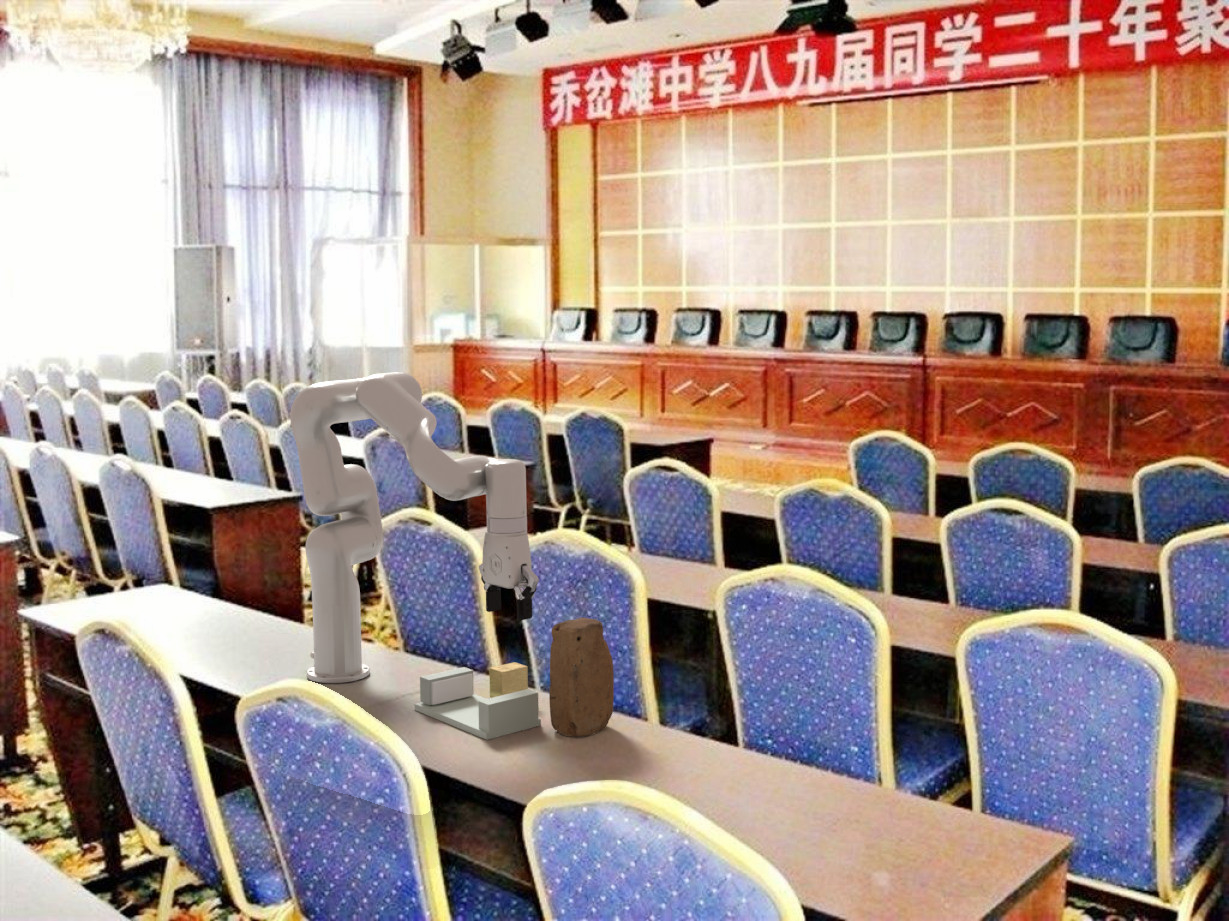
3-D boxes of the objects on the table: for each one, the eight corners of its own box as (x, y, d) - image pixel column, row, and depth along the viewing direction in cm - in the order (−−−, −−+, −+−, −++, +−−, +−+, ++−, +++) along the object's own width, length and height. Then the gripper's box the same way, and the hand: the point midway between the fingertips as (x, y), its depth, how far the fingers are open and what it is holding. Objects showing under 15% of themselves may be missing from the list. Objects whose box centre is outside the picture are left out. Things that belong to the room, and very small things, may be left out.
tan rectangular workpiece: (489, 703, 264) (489, 667, 263) (515, 697, 267) (514, 662, 267) (502, 708, 261) (502, 672, 260) (527, 702, 264) (527, 666, 264)
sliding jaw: (420, 701, 260) (419, 676, 259) (464, 691, 266) (464, 667, 266) (431, 706, 257) (430, 680, 256) (475, 695, 263) (475, 670, 263)
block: (570, 741, 241) (569, 629, 239) (545, 731, 247) (544, 621, 244) (619, 729, 248) (619, 619, 245) (593, 719, 254) (593, 612, 251)
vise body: (414, 709, 260) (413, 677, 259) (467, 697, 267) (466, 666, 267) (486, 739, 242) (486, 705, 242) (540, 725, 250) (540, 692, 249)
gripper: (463, 522, 264) (466, 610, 266) (518, 533, 251) (520, 626, 253) (495, 517, 269) (498, 604, 271) (551, 528, 256) (553, 619, 258)
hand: (509, 614), depth 262 cm, fingers open, 9 cm apart
